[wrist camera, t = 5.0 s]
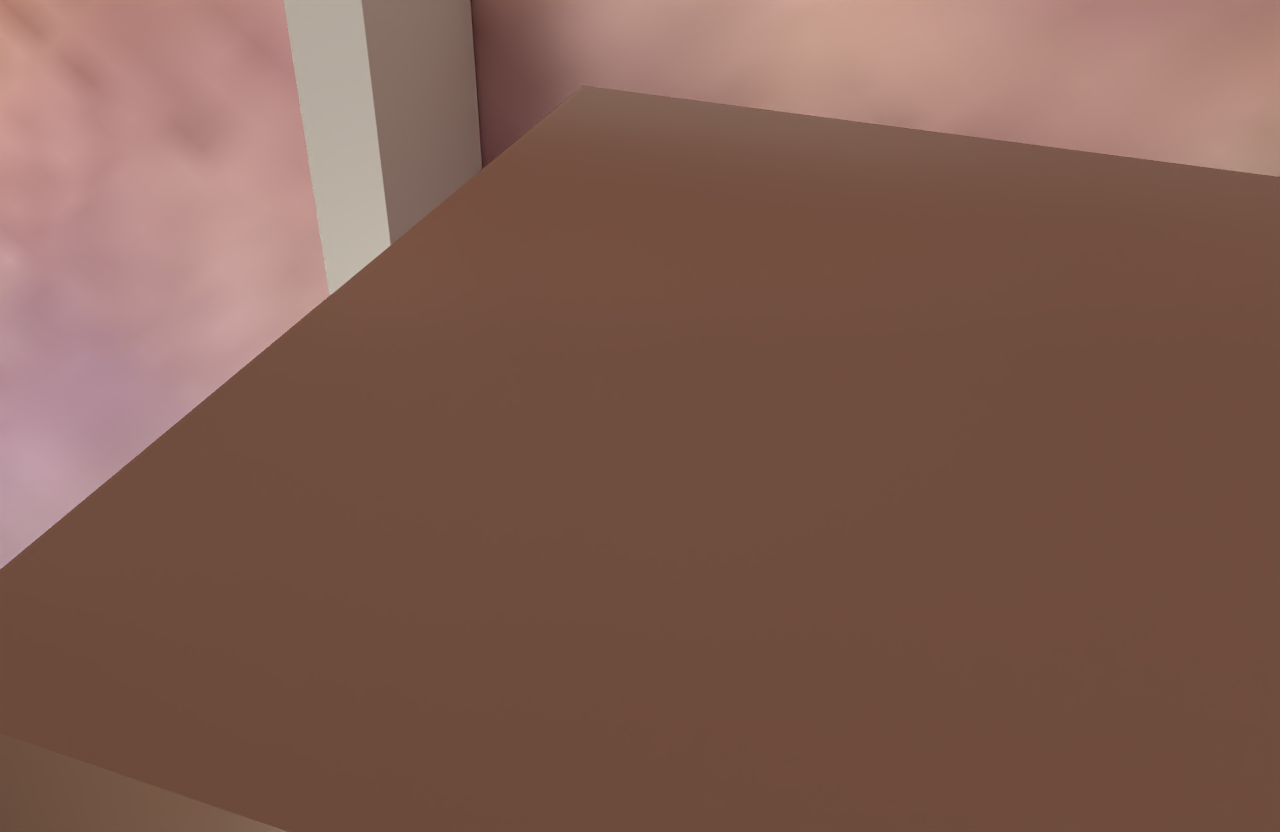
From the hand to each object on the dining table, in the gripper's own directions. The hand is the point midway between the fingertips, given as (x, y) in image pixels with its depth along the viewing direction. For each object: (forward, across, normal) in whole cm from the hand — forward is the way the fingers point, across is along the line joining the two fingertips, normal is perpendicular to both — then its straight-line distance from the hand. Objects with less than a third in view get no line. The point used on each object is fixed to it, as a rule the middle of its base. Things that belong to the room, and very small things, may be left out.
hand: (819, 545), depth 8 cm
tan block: (+2, 0, 0) cm, 2 cm away
